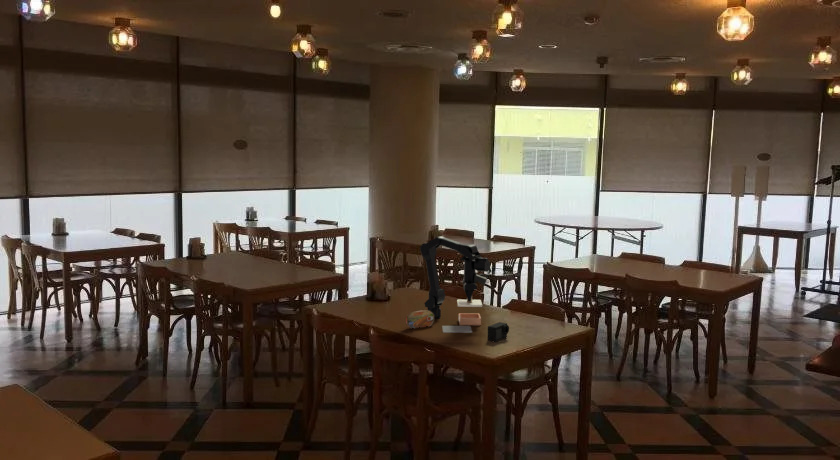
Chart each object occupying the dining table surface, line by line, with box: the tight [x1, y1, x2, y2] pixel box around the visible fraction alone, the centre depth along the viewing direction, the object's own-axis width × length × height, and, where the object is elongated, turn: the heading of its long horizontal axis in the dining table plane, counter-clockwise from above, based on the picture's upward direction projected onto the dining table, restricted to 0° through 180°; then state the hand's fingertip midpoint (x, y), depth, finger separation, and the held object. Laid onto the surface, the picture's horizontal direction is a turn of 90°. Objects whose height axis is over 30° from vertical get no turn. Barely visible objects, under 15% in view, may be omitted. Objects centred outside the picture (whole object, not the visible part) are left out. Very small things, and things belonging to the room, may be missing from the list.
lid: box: [456, 296, 483, 308], centre depth 359 cm, size 12×12×5 cm
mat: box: [441, 325, 473, 334], centre depth 348 cm, size 14×13×1 cm
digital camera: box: [487, 321, 510, 343], centre depth 330 cm, size 10×5×7 cm, turn 143°
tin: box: [405, 309, 436, 329], centre depth 352 cm, size 15×3×8 cm, turn 117°
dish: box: [458, 312, 482, 326], centre depth 360 cm, size 10×10×4 cm
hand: (469, 300), depth 359 cm, fingers closed on lid, 3 cm apart
